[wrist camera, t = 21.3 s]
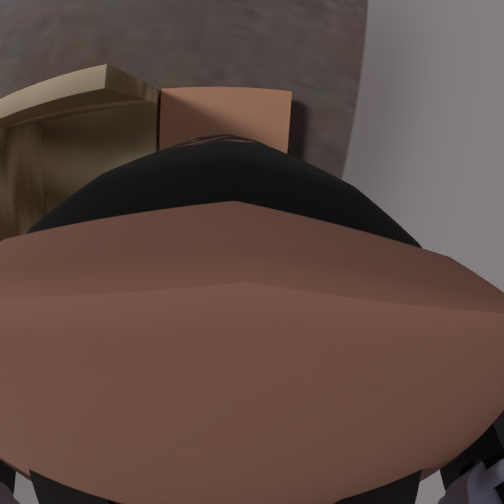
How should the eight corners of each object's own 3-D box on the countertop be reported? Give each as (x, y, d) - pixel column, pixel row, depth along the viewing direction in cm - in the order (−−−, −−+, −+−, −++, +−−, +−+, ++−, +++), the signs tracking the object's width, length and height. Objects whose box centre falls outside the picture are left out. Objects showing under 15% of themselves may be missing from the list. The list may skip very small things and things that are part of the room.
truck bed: (39, 112, 17) (-70, 129, 4) (161, 91, 18) (77, 51, 6) (74, 320, 27) (29, 408, 15) (172, 328, 29) (154, 440, 16)
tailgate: (161, 89, 17) (291, 91, 18) (165, 90, 18) (290, 93, 19) (167, 289, 25) (272, 295, 26) (169, 284, 26) (271, 290, 26)
